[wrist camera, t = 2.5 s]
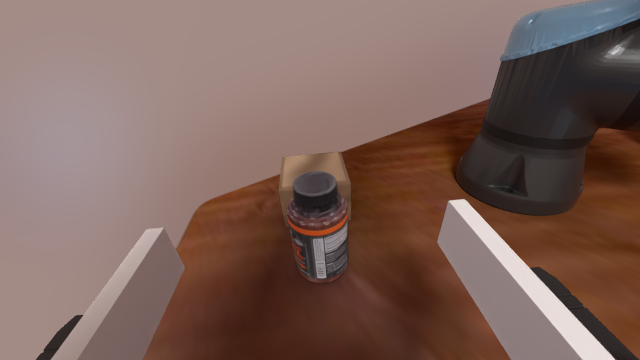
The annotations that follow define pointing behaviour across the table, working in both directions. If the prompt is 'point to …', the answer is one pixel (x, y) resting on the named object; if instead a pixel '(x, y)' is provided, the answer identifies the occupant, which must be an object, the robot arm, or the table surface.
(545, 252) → the table surface
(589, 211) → the table surface
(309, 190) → the supplement bottle
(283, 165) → the light wooden box
